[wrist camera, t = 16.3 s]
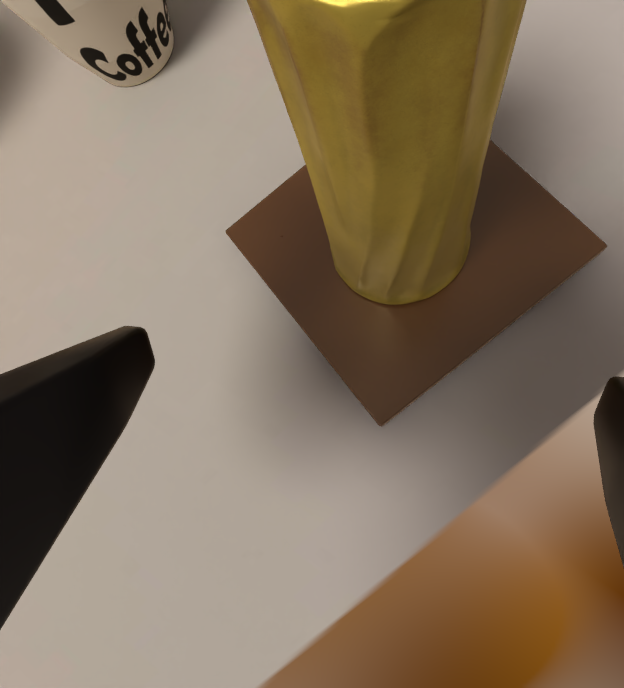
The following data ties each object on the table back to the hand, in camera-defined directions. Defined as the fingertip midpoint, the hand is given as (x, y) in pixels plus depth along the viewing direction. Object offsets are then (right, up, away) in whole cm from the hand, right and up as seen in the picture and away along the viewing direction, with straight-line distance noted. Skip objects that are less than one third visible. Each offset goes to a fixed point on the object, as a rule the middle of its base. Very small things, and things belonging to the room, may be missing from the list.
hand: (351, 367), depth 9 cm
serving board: (+3, +5, +13) cm, 14 cm away
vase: (+3, +5, +12) cm, 13 cm away
